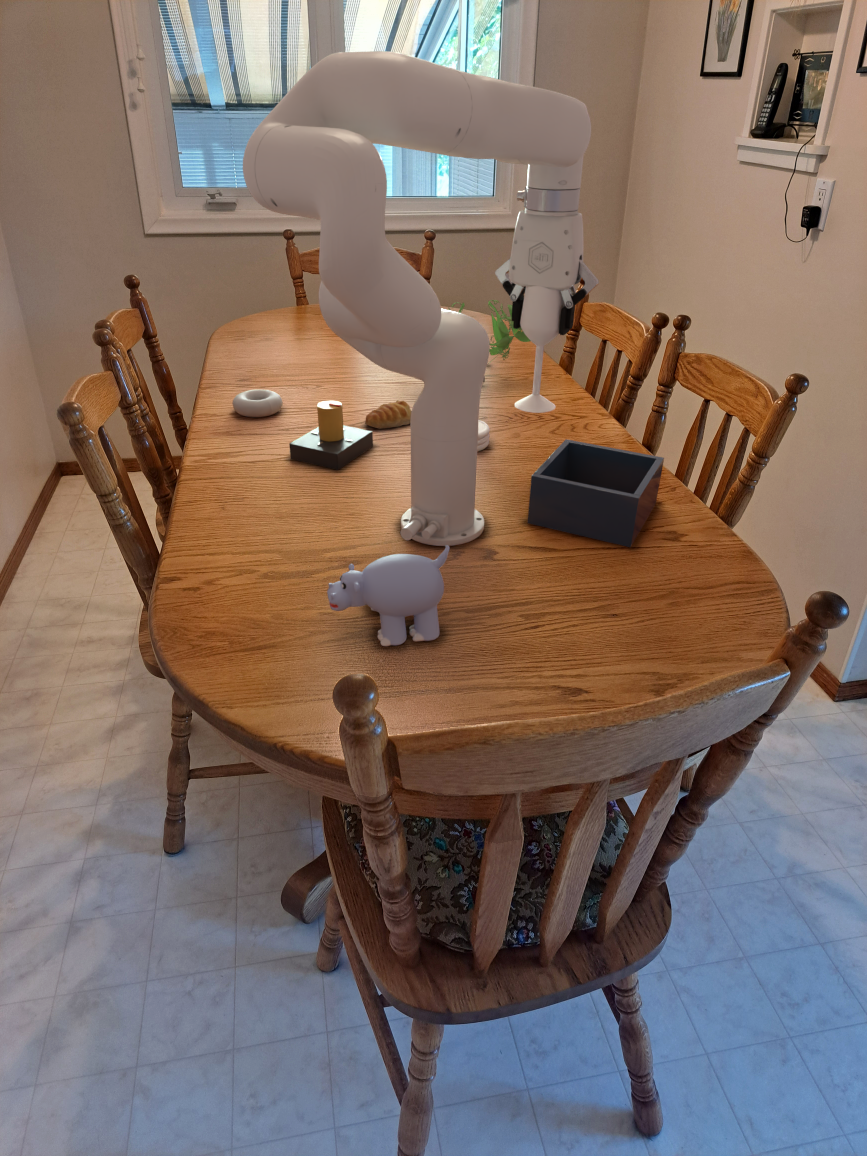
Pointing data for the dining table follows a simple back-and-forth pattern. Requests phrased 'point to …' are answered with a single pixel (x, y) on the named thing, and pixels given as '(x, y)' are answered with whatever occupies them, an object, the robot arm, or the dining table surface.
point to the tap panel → (331, 448)
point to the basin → (595, 491)
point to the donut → (257, 403)
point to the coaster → (483, 435)
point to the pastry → (389, 415)
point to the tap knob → (330, 420)
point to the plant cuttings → (501, 331)
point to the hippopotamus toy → (395, 594)
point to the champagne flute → (539, 337)
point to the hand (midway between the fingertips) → (541, 328)
